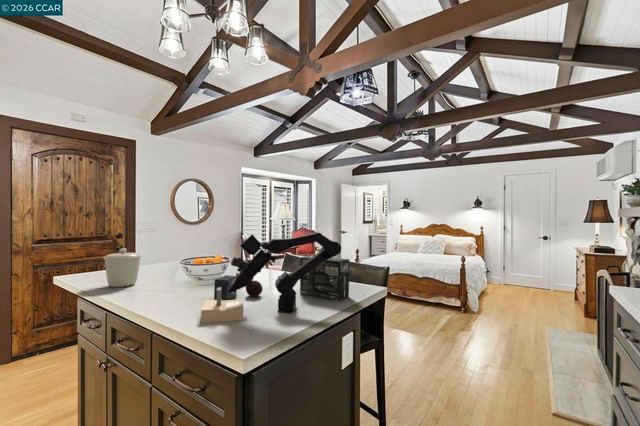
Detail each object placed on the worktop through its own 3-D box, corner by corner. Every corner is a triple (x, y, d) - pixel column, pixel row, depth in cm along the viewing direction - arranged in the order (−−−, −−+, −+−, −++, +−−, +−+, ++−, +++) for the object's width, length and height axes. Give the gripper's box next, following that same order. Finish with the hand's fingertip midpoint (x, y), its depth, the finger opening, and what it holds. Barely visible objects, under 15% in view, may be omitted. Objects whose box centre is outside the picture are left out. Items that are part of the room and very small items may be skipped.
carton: (242, 308, 127) (242, 299, 127) (243, 319, 114) (243, 308, 114) (205, 311, 123) (205, 301, 123) (201, 323, 110) (201, 311, 110)
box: (349, 297, 147) (349, 258, 147) (339, 302, 139) (340, 260, 139) (310, 290, 159) (310, 255, 160) (299, 294, 151) (299, 257, 151)
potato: (248, 299, 142) (249, 283, 142) (243, 295, 150) (243, 279, 150) (265, 297, 146) (265, 281, 146) (258, 293, 154) (258, 278, 154)
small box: (226, 303, 136) (226, 279, 136) (213, 302, 137) (213, 279, 137) (237, 297, 146) (237, 275, 146) (225, 296, 147) (225, 274, 148)
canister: (145, 285, 170) (146, 248, 170) (107, 291, 157) (107, 250, 157) (135, 280, 182) (136, 246, 183) (99, 285, 169) (100, 248, 170)
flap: (221, 300, 125) (221, 285, 125) (219, 310, 112) (220, 292, 112) (205, 302, 123) (205, 286, 123) (201, 311, 110) (201, 293, 110)
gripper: (242, 247, 130) (215, 274, 127) (243, 252, 112) (211, 283, 109) (261, 264, 132) (234, 291, 129) (264, 272, 114) (234, 303, 111)
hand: (228, 292), depth 119 cm, fingers closed
